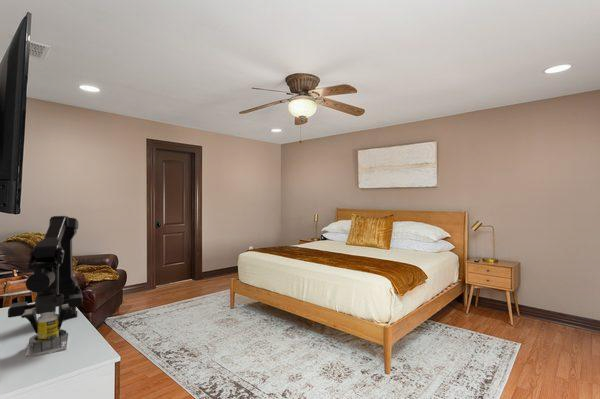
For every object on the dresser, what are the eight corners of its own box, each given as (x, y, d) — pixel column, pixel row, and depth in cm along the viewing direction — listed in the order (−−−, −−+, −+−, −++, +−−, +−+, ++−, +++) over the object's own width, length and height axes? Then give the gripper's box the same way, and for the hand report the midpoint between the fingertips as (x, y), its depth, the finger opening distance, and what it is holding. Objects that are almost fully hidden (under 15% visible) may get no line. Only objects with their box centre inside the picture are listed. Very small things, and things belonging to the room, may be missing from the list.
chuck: (30, 342, 106) (30, 332, 106) (68, 335, 112) (68, 325, 111) (25, 358, 96) (25, 347, 96) (66, 349, 102) (66, 338, 101)
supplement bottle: (47, 343, 101) (46, 312, 100) (33, 341, 102) (32, 311, 101) (63, 335, 106) (62, 306, 106) (49, 334, 107) (48, 305, 107)
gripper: (3, 295, 91) (4, 349, 92) (82, 285, 102) (82, 333, 102) (11, 285, 101) (11, 334, 101) (82, 277, 111) (83, 321, 112)
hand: (48, 331), depth 104 cm, fingers closed on supplement bottle, 5 cm apart
